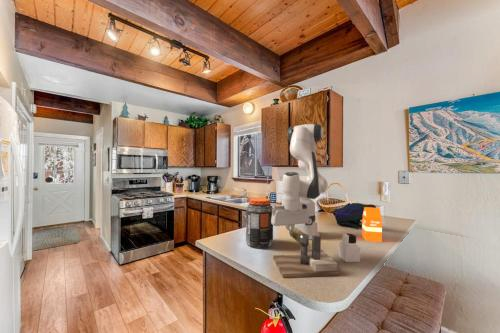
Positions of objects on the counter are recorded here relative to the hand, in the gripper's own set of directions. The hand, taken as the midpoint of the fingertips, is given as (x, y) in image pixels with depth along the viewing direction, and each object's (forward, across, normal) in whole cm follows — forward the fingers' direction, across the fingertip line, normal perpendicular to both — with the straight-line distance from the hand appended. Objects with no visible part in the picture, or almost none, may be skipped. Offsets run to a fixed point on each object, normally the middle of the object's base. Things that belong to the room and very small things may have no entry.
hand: (290, 233), depth 105 cm
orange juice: (+11, +65, +3) cm, 66 cm away
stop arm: (+2, +2, -5) cm, 5 cm away
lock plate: (+12, +1, -10) cm, 15 cm away
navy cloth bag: (+10, +78, +28) cm, 84 cm away
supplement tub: (+12, -5, +23) cm, 26 cm away
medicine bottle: (+12, +26, -12) cm, 32 cm away
